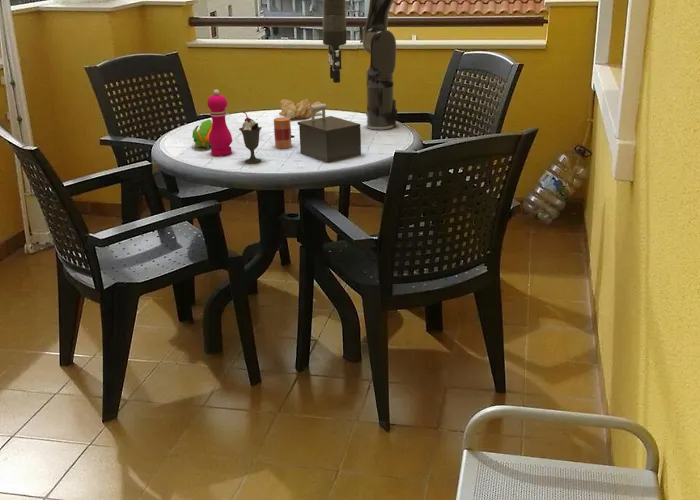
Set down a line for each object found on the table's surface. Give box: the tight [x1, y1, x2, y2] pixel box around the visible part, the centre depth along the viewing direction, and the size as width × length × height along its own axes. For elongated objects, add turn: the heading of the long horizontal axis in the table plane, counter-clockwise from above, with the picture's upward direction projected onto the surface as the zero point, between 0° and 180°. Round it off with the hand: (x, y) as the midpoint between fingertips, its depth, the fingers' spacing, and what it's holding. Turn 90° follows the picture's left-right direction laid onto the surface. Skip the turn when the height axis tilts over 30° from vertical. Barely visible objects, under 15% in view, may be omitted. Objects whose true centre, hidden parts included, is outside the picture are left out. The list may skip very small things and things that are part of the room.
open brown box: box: [298, 125, 362, 163], centre depth 249 cm, size 15×13×9 cm
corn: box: [191, 119, 212, 148], centre depth 265 cm, size 7×8×20 cm
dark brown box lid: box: [297, 103, 361, 133], centre depth 246 cm, size 16×13×6 cm
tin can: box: [273, 116, 293, 150], centre depth 258 cm, size 5×5×9 cm
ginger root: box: [278, 98, 322, 120], centre depth 299 cm, size 16×16×8 cm
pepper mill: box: [206, 89, 233, 157], centre depth 250 cm, size 7×7×20 cm
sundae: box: [238, 111, 263, 164], centre depth 242 cm, size 7×7×15 cm
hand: (335, 80), depth 264 cm, fingers open, 8 cm apart
